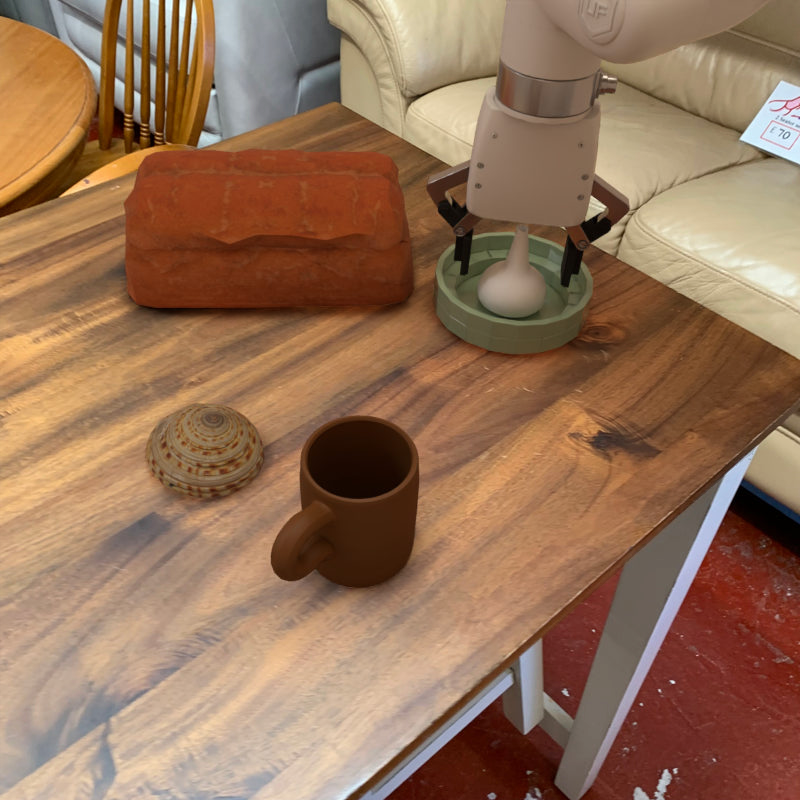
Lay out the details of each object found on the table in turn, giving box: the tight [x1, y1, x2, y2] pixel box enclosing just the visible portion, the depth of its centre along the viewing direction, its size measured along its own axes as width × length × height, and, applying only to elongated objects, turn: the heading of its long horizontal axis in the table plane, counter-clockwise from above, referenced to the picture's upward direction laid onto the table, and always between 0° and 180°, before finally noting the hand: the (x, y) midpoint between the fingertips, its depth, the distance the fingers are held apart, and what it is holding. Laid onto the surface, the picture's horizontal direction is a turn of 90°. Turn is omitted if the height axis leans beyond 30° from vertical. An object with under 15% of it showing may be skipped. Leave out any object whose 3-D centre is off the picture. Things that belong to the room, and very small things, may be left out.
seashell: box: [145, 402, 265, 499], centre depth 62 cm, size 8×6×8 cm
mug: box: [270, 414, 420, 589], centre depth 53 cm, size 12×8×9 cm, turn 146°
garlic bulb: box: [477, 224, 547, 318], centre depth 75 cm, size 6×6×8 cm
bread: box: [123, 148, 415, 309], centre depth 77 cm, size 16×27×11 cm, turn 94°
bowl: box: [432, 231, 594, 355], centre depth 76 cm, size 14×14×4 cm
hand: (514, 272), depth 75 cm, fingers open, 8 cm apart
